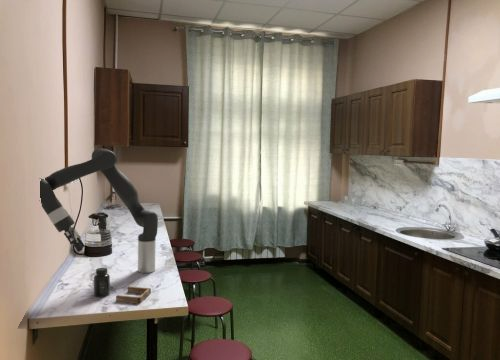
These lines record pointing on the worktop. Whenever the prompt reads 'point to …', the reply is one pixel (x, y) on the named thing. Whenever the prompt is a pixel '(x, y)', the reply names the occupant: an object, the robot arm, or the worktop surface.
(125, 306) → the worktop surface
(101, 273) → the supplement bottle
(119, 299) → the walnut frame
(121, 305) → the worktop surface
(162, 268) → the worktop surface
